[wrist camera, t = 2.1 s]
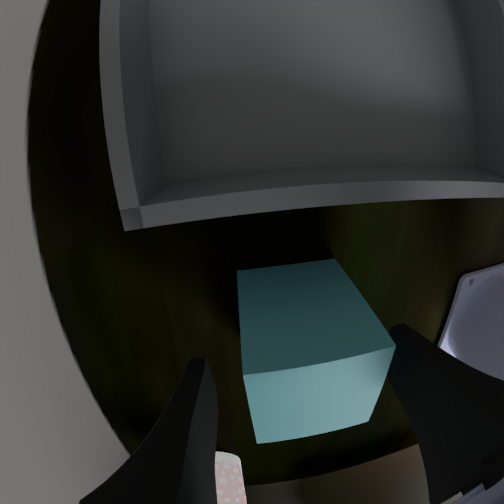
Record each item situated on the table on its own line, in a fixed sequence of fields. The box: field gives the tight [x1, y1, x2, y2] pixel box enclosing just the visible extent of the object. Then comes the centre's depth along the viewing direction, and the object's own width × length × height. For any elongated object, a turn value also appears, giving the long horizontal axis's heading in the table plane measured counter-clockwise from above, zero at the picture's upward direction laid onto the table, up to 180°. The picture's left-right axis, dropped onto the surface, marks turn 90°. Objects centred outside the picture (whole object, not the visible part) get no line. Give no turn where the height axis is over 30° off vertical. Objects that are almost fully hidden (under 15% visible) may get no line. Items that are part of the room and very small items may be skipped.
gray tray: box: [99, 0, 504, 231], centre depth 6 cm, size 16×14×4 cm
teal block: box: [237, 259, 396, 444], centre depth 11 cm, size 4×4×6 cm
